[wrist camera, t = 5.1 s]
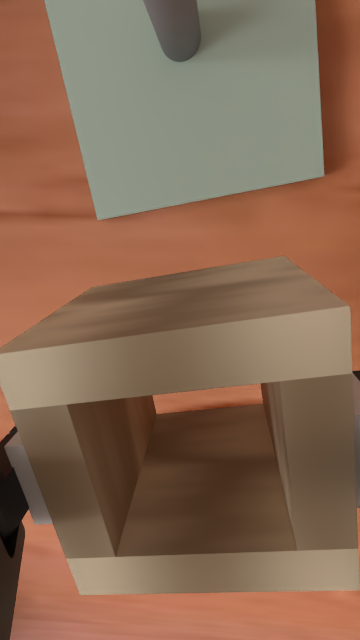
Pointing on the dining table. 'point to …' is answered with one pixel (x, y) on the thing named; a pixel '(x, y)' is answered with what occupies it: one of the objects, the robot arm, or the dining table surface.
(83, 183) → the dining table surface
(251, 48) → the rod stand
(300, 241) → the dining table surface
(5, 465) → the robot arm
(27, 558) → the dining table surface
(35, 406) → the wooden square ring
